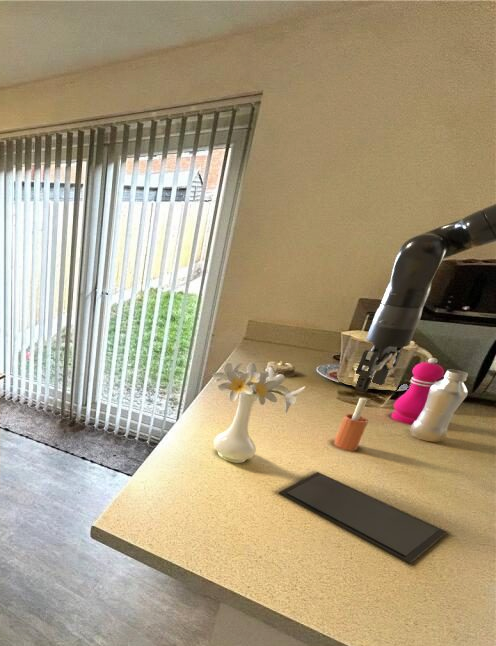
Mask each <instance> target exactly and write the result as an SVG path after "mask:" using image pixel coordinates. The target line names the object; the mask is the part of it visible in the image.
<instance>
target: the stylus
mask: <svg viewBox="0 0 496 646" xmlns="http://www.w3.org/2000/svg"><path fill="white" fill-rule="evenodd" d="M367 402H368V399H367V398H365V397H359V399H358V402H357V404H356V407H355V409H354V412H353V413H352V414H353V417H352V420H356V421H359V419H360V416H362V413H363V411H364V409H365V407H366V404H367Z"/></svg>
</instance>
